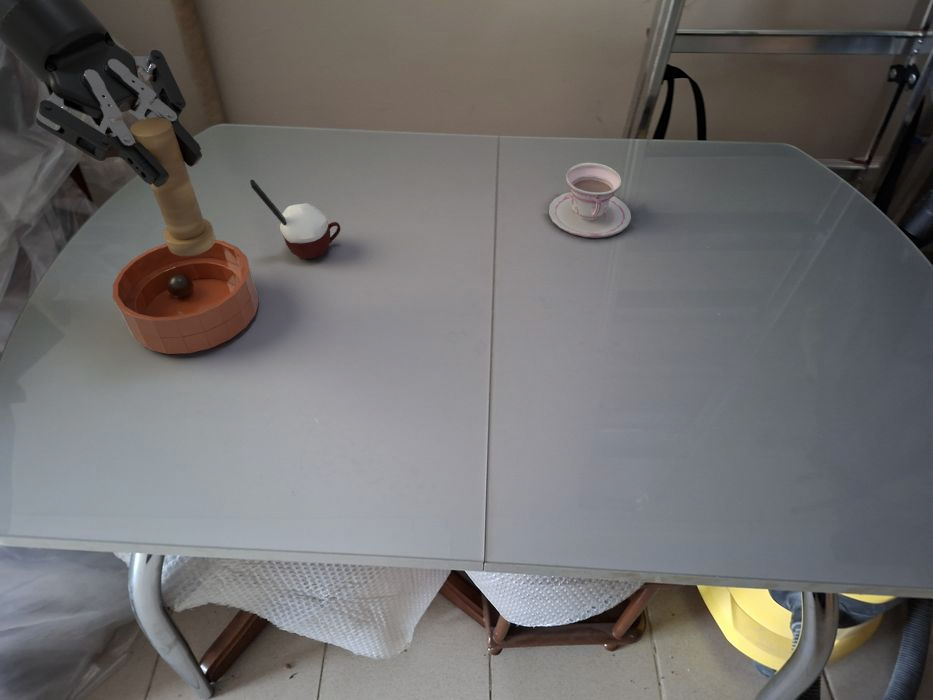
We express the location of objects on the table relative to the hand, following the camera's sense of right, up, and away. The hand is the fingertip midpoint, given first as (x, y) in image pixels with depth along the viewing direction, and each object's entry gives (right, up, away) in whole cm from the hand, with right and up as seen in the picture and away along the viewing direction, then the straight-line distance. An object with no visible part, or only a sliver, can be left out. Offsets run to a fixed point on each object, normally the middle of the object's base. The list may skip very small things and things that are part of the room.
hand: (180, 170), depth 62 cm
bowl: (-6, -13, +19) cm, 24 cm away
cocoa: (+5, -4, +28) cm, 29 cm away
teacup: (+45, +3, +35) cm, 57 cm away
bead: (-8, -9, +19) cm, 23 cm away
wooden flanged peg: (-2, -6, +7) cm, 9 cm away
